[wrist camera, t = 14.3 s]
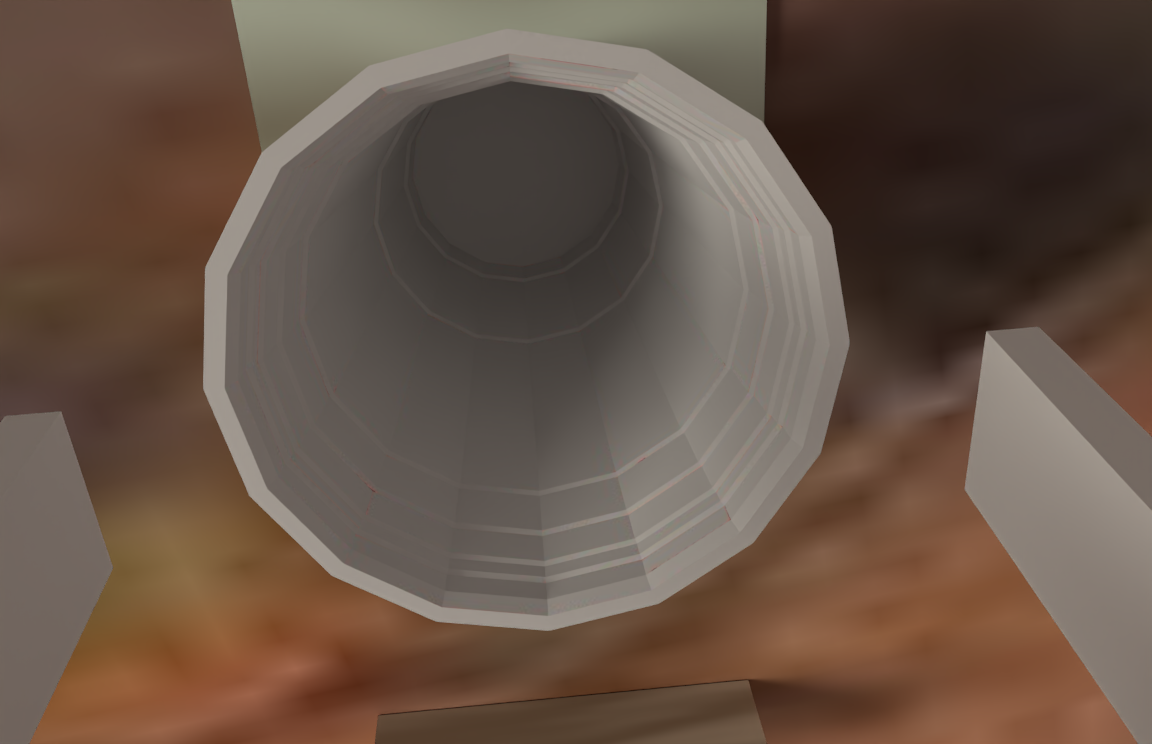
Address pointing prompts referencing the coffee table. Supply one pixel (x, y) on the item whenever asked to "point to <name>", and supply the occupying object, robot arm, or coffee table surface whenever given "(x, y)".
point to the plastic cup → (524, 330)
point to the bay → (451, 14)
